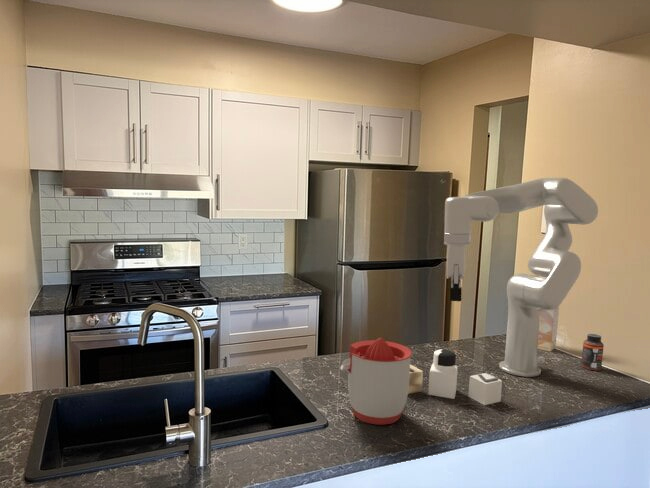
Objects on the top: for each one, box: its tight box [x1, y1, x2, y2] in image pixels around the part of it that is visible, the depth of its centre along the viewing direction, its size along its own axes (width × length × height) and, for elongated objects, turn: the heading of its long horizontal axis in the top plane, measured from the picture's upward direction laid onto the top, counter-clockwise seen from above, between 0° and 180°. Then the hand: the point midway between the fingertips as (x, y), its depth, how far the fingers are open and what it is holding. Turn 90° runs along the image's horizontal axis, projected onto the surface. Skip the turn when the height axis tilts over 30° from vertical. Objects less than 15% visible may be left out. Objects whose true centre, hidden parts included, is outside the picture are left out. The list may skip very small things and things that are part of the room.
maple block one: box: [408, 363, 424, 395], centre depth 136 cm, size 6×6×6 cm
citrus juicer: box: [340, 337, 413, 426], centre depth 118 cm, size 16×17×20 cm
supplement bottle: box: [581, 333, 605, 372], centre depth 159 cm, size 6×6×11 cm
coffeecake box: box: [537, 305, 560, 353], centre depth 181 cm, size 15×7×20 cm, turn 50°
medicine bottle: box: [427, 348, 459, 400], centre depth 134 cm, size 7×7×12 cm
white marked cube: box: [468, 372, 503, 406], centre depth 131 cm, size 6×6×6 cm
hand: (455, 300), depth 141 cm, fingers closed
